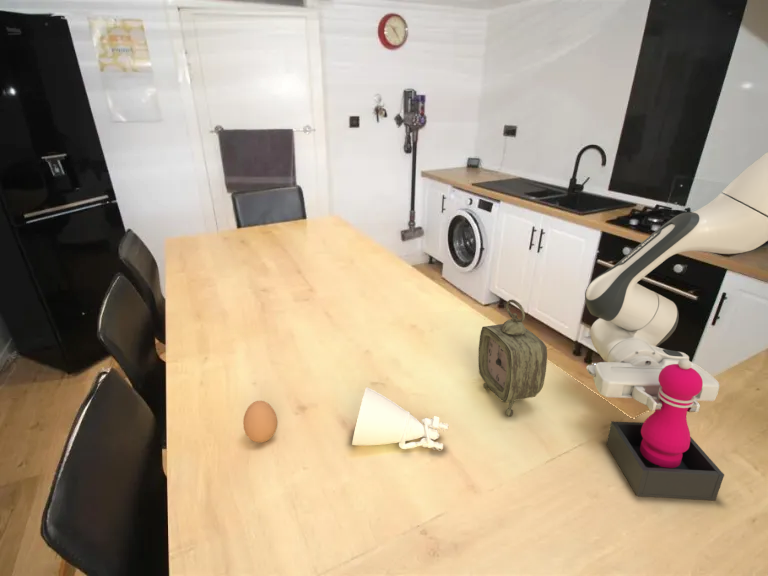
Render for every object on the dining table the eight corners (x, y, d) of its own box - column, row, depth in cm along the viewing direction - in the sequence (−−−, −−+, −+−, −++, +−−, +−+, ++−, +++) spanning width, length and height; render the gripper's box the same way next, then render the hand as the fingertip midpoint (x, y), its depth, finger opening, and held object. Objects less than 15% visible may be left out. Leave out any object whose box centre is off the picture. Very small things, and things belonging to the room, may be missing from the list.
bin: (673, 447, 80) (679, 424, 78) (715, 500, 69) (724, 474, 67) (606, 444, 82) (611, 421, 80) (636, 496, 70) (643, 470, 68)
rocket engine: (456, 402, 80) (367, 380, 80) (447, 465, 74) (351, 441, 75) (445, 414, 90) (365, 394, 91) (436, 470, 84) (352, 448, 85)
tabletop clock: (476, 385, 102) (482, 292, 93) (508, 380, 104) (518, 287, 95) (506, 422, 88) (517, 317, 80) (543, 415, 90) (557, 311, 82)
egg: (244, 434, 87) (238, 398, 84) (276, 425, 89) (271, 389, 86) (248, 454, 81) (242, 416, 78) (282, 444, 84) (277, 407, 80)
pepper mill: (668, 476, 70) (697, 375, 63) (627, 449, 76) (650, 355, 69) (692, 461, 73) (723, 363, 66) (651, 436, 79) (675, 344, 72)
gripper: (585, 350, 82) (615, 390, 69) (694, 353, 80) (745, 394, 67) (580, 377, 84) (608, 420, 72) (686, 380, 82) (734, 426, 70)
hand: (676, 408), depth 69 cm, fingers closed on pepper mill, 4 cm apart
